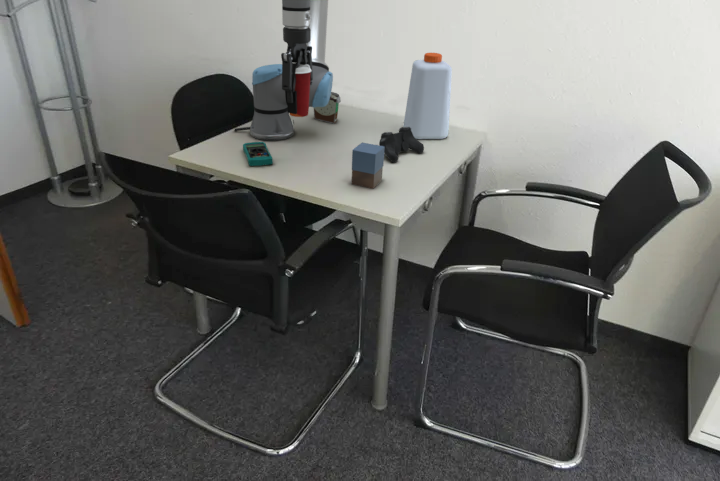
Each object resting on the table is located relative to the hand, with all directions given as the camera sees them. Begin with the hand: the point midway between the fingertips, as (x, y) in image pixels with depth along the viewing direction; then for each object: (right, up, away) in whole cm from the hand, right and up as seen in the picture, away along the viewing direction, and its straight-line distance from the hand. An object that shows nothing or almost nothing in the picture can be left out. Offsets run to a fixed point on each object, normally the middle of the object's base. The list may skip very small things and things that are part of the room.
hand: (298, 109), depth 155 cm
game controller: (+31, -10, +19) cm, 38 cm away
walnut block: (+20, -22, -2) cm, 30 cm away
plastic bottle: (+42, +1, +38) cm, 57 cm away
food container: (+6, +8, +48) cm, 49 cm away
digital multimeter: (-14, -13, +11) cm, 22 cm away
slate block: (+20, -18, -4) cm, 27 cm away
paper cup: (0, -1, +1) cm, 1 cm away
